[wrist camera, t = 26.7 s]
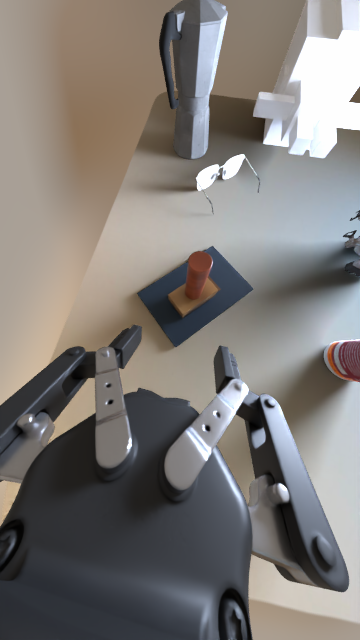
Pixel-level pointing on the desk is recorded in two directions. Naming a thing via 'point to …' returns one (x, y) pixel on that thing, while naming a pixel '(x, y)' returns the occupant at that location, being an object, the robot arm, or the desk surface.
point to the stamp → (194, 285)
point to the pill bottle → (344, 359)
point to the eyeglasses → (210, 173)
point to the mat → (227, 295)
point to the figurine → (355, 266)
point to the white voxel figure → (316, 80)
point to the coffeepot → (192, 68)
